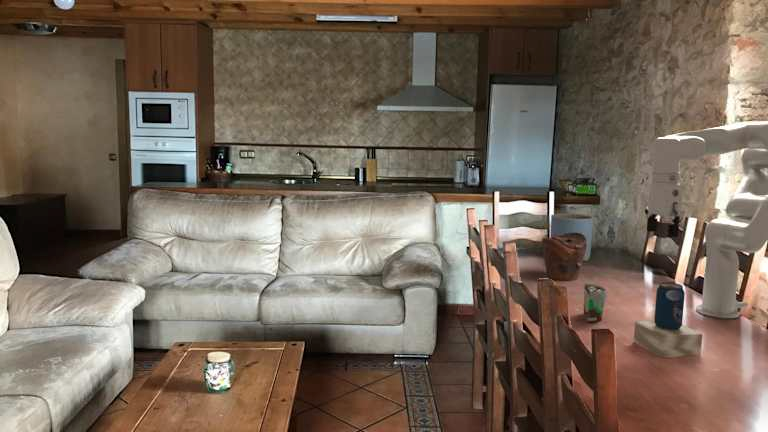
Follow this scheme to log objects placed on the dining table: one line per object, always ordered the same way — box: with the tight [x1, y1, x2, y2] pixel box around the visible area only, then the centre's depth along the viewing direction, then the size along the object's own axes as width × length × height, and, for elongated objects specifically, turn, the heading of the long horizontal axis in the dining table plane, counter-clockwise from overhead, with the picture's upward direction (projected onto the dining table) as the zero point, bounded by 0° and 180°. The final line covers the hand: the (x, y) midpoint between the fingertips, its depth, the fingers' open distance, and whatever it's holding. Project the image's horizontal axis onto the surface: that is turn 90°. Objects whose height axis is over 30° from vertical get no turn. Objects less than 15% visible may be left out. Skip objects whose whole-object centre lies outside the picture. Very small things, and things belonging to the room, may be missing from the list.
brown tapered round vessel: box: [540, 233, 587, 281], centre depth 242 cm, size 18×20×18 cm
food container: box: [582, 283, 608, 324], centre depth 188 cm, size 12×6×10 cm, turn 168°
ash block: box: [633, 320, 703, 359], centre depth 163 cm, size 12×12×6 cm
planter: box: [550, 213, 595, 262], centre depth 279 cm, size 19×19×20 cm
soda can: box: [653, 281, 686, 331], centre depth 162 cm, size 7×7×12 cm
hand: (662, 234), depth 182 cm, fingers open, 9 cm apart
